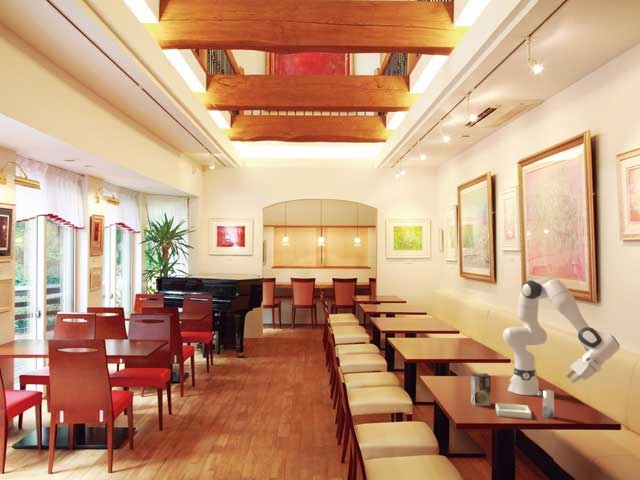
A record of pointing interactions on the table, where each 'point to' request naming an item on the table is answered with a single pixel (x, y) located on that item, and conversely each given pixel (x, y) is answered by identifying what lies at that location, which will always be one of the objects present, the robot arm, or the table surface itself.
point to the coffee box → (480, 389)
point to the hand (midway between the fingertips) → (569, 379)
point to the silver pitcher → (548, 403)
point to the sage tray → (513, 410)
